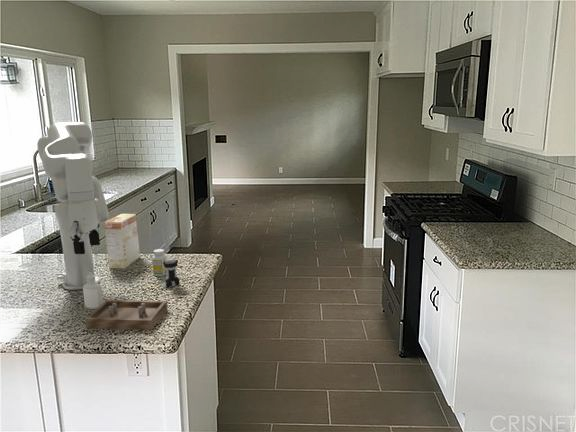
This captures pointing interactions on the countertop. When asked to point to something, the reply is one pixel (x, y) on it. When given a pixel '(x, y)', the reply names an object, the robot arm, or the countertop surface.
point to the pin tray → (127, 315)
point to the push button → (171, 272)
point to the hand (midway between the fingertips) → (87, 249)
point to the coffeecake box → (122, 240)
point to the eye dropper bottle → (92, 293)
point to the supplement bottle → (159, 262)
